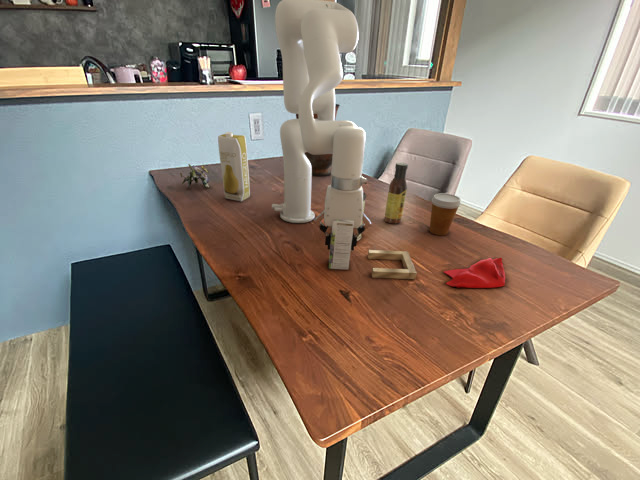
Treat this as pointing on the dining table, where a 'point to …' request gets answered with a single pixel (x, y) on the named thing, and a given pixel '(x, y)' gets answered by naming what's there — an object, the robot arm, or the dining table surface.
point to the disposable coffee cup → (443, 212)
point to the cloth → (479, 275)
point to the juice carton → (234, 166)
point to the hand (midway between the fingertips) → (340, 247)
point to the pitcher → (320, 156)
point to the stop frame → (404, 273)
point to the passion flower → (197, 176)
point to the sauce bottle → (396, 195)
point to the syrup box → (340, 244)
